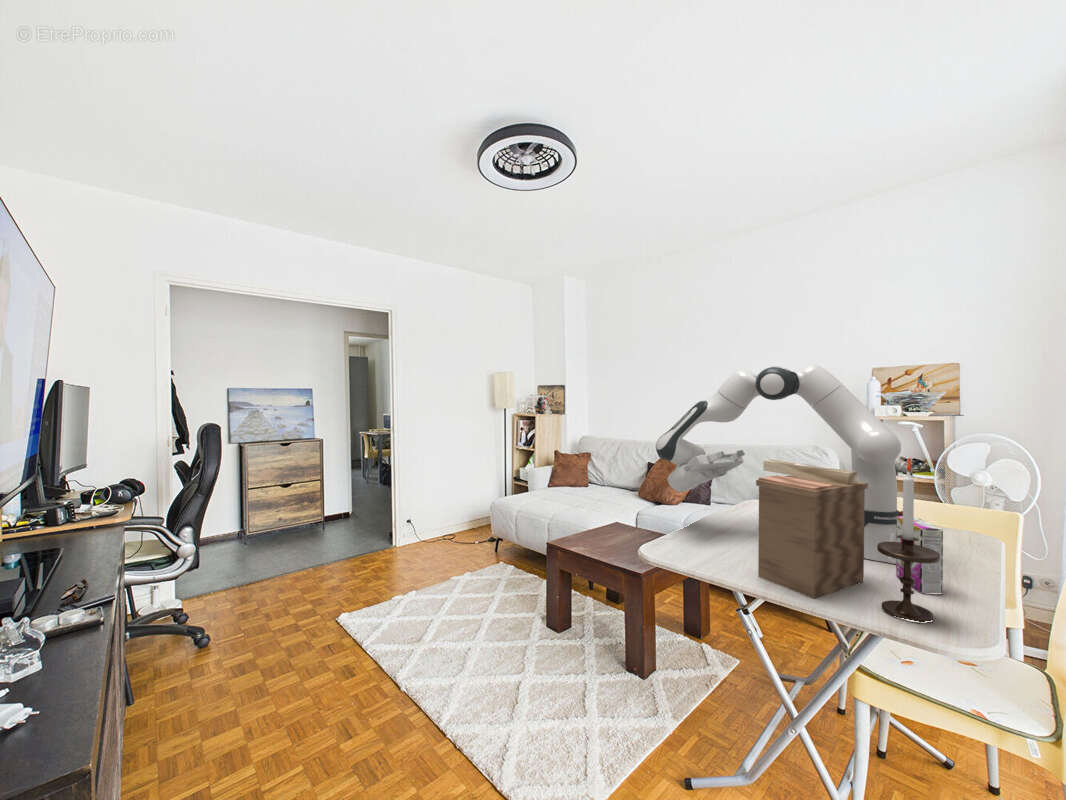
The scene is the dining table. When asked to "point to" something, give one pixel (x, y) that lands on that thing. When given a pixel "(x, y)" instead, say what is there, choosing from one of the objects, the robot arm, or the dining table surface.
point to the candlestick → (908, 558)
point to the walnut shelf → (811, 534)
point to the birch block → (811, 471)
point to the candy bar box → (924, 573)
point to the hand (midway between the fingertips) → (732, 452)
